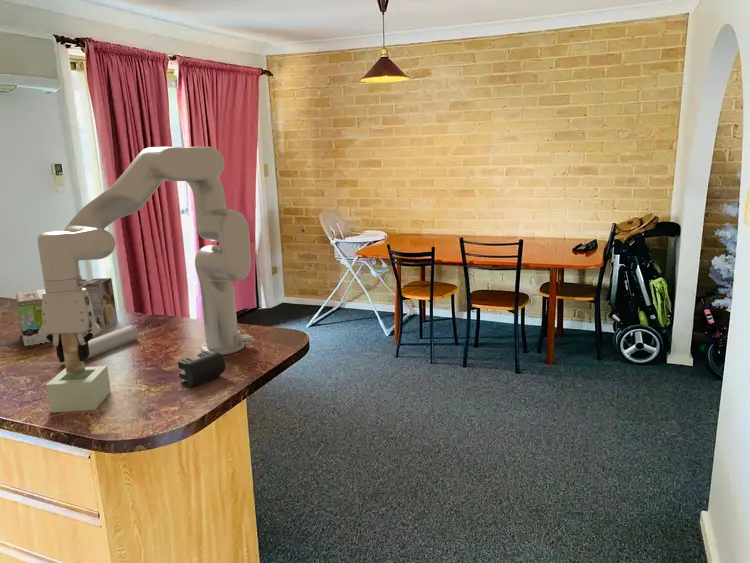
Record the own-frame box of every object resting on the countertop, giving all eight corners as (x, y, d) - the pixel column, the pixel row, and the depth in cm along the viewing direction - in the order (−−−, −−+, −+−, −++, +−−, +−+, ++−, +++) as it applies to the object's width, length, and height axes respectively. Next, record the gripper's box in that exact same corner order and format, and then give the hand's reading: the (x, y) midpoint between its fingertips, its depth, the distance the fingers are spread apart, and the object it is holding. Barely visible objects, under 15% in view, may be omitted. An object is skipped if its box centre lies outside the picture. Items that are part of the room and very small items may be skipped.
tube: (68, 356, 155) (139, 329, 177) (55, 348, 157) (127, 322, 179) (66, 372, 157) (138, 343, 179) (54, 364, 159) (126, 336, 181)
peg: (88, 368, 136) (81, 321, 133) (81, 374, 132) (74, 326, 129) (71, 369, 135) (63, 321, 132) (63, 375, 131) (56, 327, 129)
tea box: (60, 340, 180) (53, 296, 176) (24, 347, 175) (16, 301, 171) (55, 328, 192) (49, 287, 189) (21, 334, 187) (14, 292, 183)
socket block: (110, 391, 141) (107, 365, 139) (94, 409, 131) (90, 382, 129) (69, 394, 140) (65, 368, 138) (50, 412, 130) (45, 384, 129)
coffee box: (100, 321, 199) (94, 278, 195) (118, 321, 199) (112, 277, 195) (87, 330, 190) (80, 284, 186) (105, 330, 190) (99, 284, 186)
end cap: (194, 391, 141) (192, 365, 139) (178, 384, 145) (175, 359, 143) (227, 377, 148) (225, 354, 147) (210, 371, 152) (208, 348, 151)
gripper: (106, 280, 133) (116, 352, 137) (33, 282, 132) (45, 355, 136) (94, 287, 126) (104, 364, 130) (16, 290, 124) (29, 367, 128)
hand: (74, 359), depth 133 cm, fingers closed on peg, 4 cm apart
